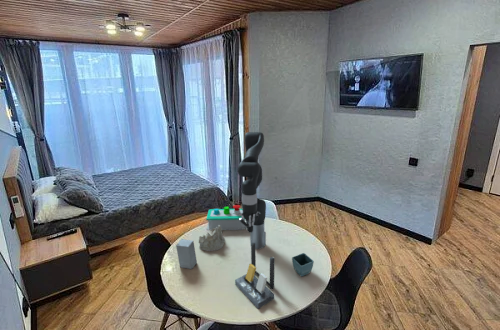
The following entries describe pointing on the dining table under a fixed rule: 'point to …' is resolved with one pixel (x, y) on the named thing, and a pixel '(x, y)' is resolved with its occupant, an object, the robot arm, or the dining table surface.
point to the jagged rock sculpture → (212, 240)
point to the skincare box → (186, 253)
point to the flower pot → (302, 264)
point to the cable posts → (272, 260)
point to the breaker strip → (254, 291)
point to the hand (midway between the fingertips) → (250, 231)
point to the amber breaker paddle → (250, 272)
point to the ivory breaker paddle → (261, 282)
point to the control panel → (225, 218)
